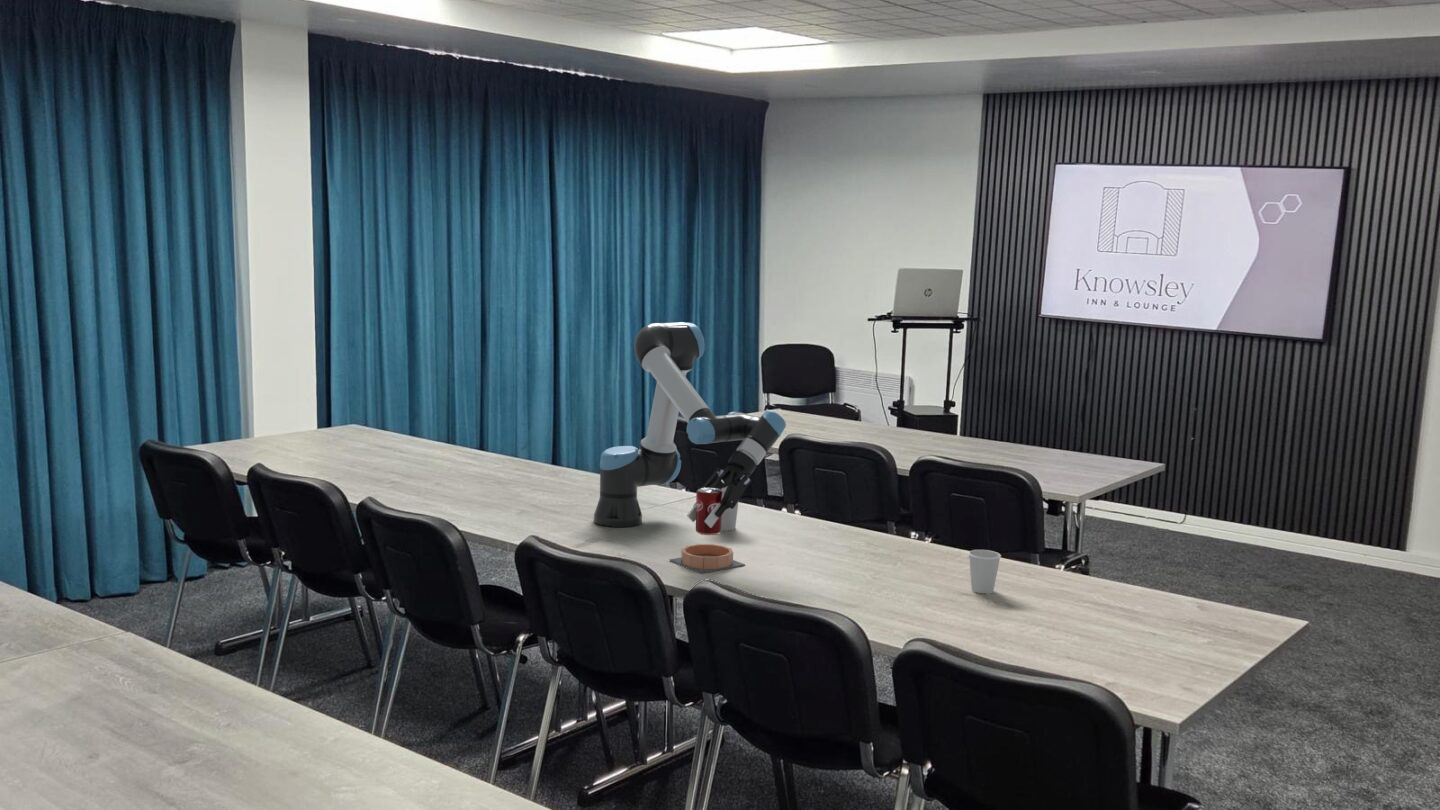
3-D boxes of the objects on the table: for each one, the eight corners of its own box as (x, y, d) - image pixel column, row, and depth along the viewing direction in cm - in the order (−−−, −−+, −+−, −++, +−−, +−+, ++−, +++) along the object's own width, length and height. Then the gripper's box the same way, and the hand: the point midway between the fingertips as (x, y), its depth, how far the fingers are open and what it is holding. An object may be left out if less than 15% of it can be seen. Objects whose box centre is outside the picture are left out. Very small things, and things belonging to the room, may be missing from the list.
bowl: (669, 560, 331) (669, 548, 330) (711, 553, 340) (712, 541, 339) (701, 573, 319) (701, 560, 318) (744, 565, 328) (745, 553, 327)
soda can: (725, 531, 330) (726, 488, 328) (716, 537, 323) (717, 493, 322) (700, 528, 332) (701, 486, 331) (691, 534, 326) (692, 491, 324)
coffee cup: (737, 533, 364) (738, 485, 362) (706, 530, 366) (708, 482, 364) (742, 525, 373) (744, 479, 371) (713, 523, 375) (714, 477, 373)
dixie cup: (963, 585, 316) (965, 548, 314) (995, 586, 315) (997, 550, 314) (969, 594, 307) (971, 557, 306) (1001, 596, 307) (1004, 558, 306)
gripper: (776, 472, 327) (729, 537, 319) (731, 460, 343) (684, 522, 335) (762, 455, 323) (713, 520, 315) (717, 444, 339) (669, 506, 331)
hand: (699, 521), depth 325 cm, fingers closed on soda can, 7 cm apart
